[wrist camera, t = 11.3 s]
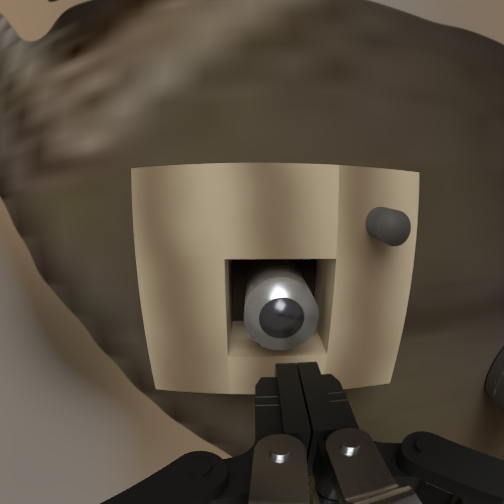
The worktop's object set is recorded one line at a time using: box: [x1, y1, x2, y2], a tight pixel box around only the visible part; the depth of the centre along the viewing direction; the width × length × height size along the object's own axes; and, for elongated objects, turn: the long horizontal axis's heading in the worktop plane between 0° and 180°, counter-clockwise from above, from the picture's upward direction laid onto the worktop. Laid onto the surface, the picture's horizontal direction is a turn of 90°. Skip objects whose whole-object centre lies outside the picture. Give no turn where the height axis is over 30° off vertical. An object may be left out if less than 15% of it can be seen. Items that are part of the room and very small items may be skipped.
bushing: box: [244, 259, 319, 350], centre depth 19 cm, size 4×4×6 cm
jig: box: [131, 163, 419, 394], centre depth 18 cm, size 16×14×7 cm
